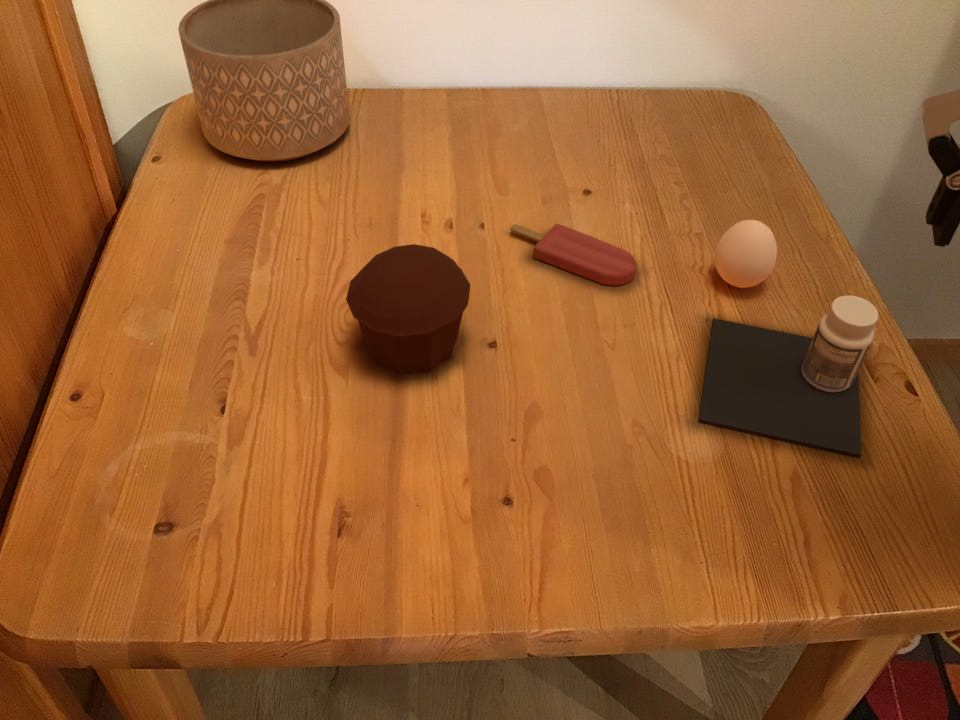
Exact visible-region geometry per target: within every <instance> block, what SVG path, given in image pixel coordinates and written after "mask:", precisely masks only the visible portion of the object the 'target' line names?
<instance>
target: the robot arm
mask: <svg viewBox="0 0 960 720" xmlns="http://www.w3.org/2000/svg"><path fill="white" fill-rule="evenodd" d="M921 115H922V116H921V117H922V121H923V127H924V128H923V129H924V133H925V139H926V145H927V152H928V155H929V157H930V158H931V160H932V161H933V163H934V165H935V166H936V167H937V169H938V170H939V172H940V173H941V175H942V177H941V178H940V181H939V183H938V185H937V187H936V189H935V192H934V194H933V196H932V197H931V200H930V201H929V204H928V207H927V209H926V213H925V222H926V223H925V224H926V225H928V226H929V225H930V226H931V227H932V234H933V235H932V237H933V244H934V247H935V246H936V247H942V248H945V247H946V246H949V245H950V244H951V242H952V240H953V237H954V236H955V233H956V231H957V229H958V227H960V226H959V225H960V143H959V144H958V143H957V142H956V140H955V138H954V136H952V134H951V132H950V127H951V126H952V124H954V122H957V121H960V89H956V90H953V91H949V92H945V93H941V94H937V95H934V96H930V97H927V98H926V99H924V100H922V103H921Z"/></svg>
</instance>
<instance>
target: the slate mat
mask: <svg viewBox="0 0 960 720" xmlns="http://www.w3.org/2000/svg"><path fill="white" fill-rule="evenodd" d="M710 329H711V330H710V336H709V343H708V348H707V349H708V350H707V357H706V364H705V371H704V376H703V377H704V379H703V385H702V391H701V399H700V405H699V406H700V407H699V412H698V413H699V414H698V421H697V422H698V423H701V424H706V425H711V426H714V427H721V428H723V429H724V428H725V429H728V430H732V431H737V432H743V433H747V434H751V435H756V436H760V437H761V436H762V437H764V438H765V437H766V438H769V439H774V440H778V441H782V442H788V443H792V444H796V445H802V446H805V447H810V448H815V449H819V450H823V451H829V452H833V453H838V454H841V455H845V456H849V457H854V458H859V459H860V458H861V457H862V435H861V434H862V433H861V432H862V431H861V403H860V402H861V401H860V378H859V375H860V374H859V371H858V372H857V375H856V377H855V379H854V381H853V383H852V384H851V386H850V387H849V388H847V389H846V390H843V391H840V392H826V391H823V390H820V389H817V388H816V387H814V386H812V385H811V384H810V383H809V382H808V381H807V380H806V379H805V378H804V376H803V374H802V364H803V362H804V359H805V357H806V354H807V352H808V350H809V347H810V345H811V342H812V340H813V337H810V336H805V335H800V334H794V333H790V332H784V331H779V330H775V329H770V328H766V327H765V328H764V327H759V326H755V325H749V324H744V323H740V322H734V321H729V320H725V319H720V318H714V317H713V318H712V323H711V328H710Z"/></svg>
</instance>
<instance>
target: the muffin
mask: <svg viewBox="0 0 960 720" xmlns="http://www.w3.org/2000/svg"><path fill="white" fill-rule="evenodd" d="M347 289H348V290H347V293H346V297H345V301H346V303H347V305H348V308H349V310H350V312H351V314H352V317H353V318H354V319H356V320H357V323H358V326H359V328H360V331H361V335H362V337H363V341H364V343H365V346H366V348H367V349H368V351H369V352H370V354H371V355H372V358H373V361H374V362H375V365H377V366H379V367H382V368H384V369H385V368H386V369H387V370H391V371H392V372H395V373H397V374H398V375H399V376H403V375H409V374H416V373H417V374H418V373H420V374H421V373H423V374H424V373H432V372H433V371H434V370H435V369H437V368H438V367H439V366H441V365H442V364H444V363H446V362H448V361H450V360H452V359H453V354H454V350H455V345H456V343H457V341H458V337H459V334H460V328H461V324H462V320H463V319H462V318H463V315H464V311H465V310H466V309H467V307H468V305H469V302H470V301H469V300H470V292H471V283H470V281H469V280H468V278H467V276H466V274H465V273H464V271H463V270H462V268H461V267H459V265H458V264H457V262H456V261H455V260H454V259H453V258H452V257H450V255H447V254H445V253H444V252H442V251H441V250H439V249H437V248H436V247H434V246H433V247H432V246H426V245H421V244H416V243H415V244H406V245H405V244H404V245H397V246H393V247H391V248H389V249H386V250H384V251H381V252H380V253H377V254H375V255H374V256H373V257H372V258H371V259H370V260H369V261H368V262H367V263H366V264H365V265H364V266H363V267H362V268H361V269H360V270H359V271H358V273H356V275H355V276H354V277H353V278H352V279H351V280H350V281H349V287H348V288H347Z"/></svg>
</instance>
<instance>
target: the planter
mask: <svg viewBox="0 0 960 720" xmlns="http://www.w3.org/2000/svg"><path fill="white" fill-rule="evenodd" d="M340 17H341V16H340V14H339V12H338V10H337V9H336V8H335V7H334V5H333V4H331V3H330V2H328V1H327V0H206V1H204V2H202V3H199V4H198V5H196V6H195V7H193V8H192V9H190V10H189V11H187V12H186V13H185V15H183V17H182V18H181V20H180V22H179V24H178V27H177V29H178V36H179V39H180V43H181V46H182V51H183V56H184V60H185V64H186V68H187V73H188V76H189V80H190V85H191V89H192V93H193V97H194V101H195V105H196V110H197V113H198V117H199V121H200V126H201V131H202V134H203V136H204V138H205V139H206V141H207V142H208V143H209V144H210V145H211V146H212V147H214V148H215V149H217V150H218V151H221V152H223V153H224V154H227V155H230V156H233V157H236V158H242V159H246V160H251V161H254V162H255V161H258V162H269V163H270V162H271V163H272V162H273V163H274V162H286V161H291V160H292V161H293V160H297V159H300V158H303V157H307V156H310V155H312V154H314V153H316V152H318V151H319V150H322V149H324V148H326V147H328V146H330V145H331V144H333V143H334V142H335V141H337V140H338V139H339V138H340V137H342V135H343V134H344V133H345V132H346V130H347V128H348V127H349V124H350V120H351V115H350V107H349V106H350V105H349V95H348V87H347V74H346V66H345V65H346V64H345V56H344V48H343V47H344V46H343V36H342V26H341V18H340Z"/></svg>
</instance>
